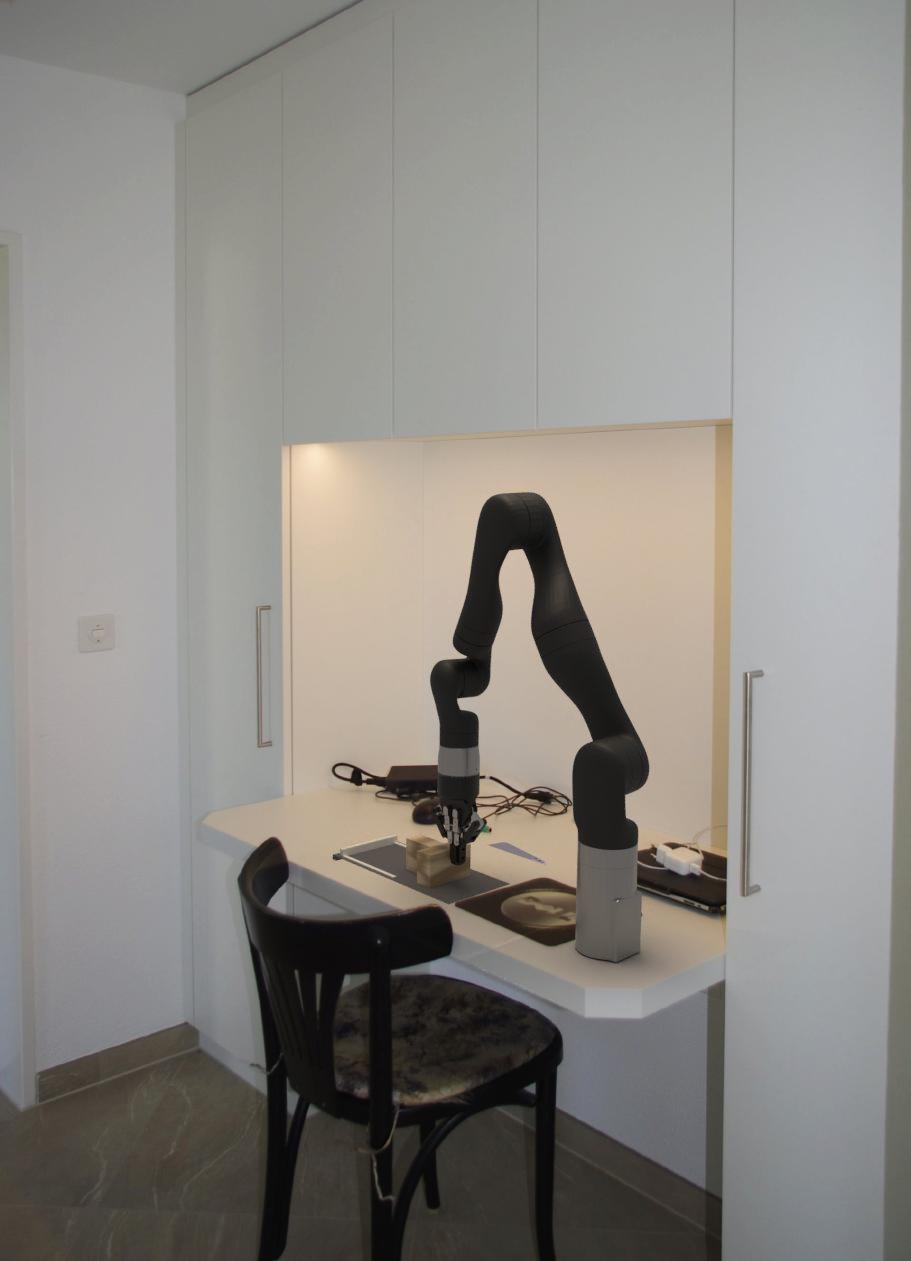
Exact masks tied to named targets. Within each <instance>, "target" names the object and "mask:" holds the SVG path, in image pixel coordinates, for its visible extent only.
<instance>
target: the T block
mask: <svg viewBox="0 0 911 1261" xmlns="http://www.w3.org/2000/svg"><path fill="white" fill-rule="evenodd" d="M405 841H406V842H405V844H406V869H407V870H410V871H412V872H415V873H417V883H418V884H421V885H423V886H425V887H428V888H432V887H435V886H439V885H442V884H445V883H448V882H451V881H455V880H458V879H461V878H464V877H467V876H470V869H471V859H472V858H471V854H472V853H471V851H472V850H471V845H472V843H468V844H467V845H466V861H465V863H464V864H462V865H458V866H457V865H454V864H452V863H451V860H450V843H449V842H448V841H447V842H443V841H439V840H437V839H434V838H431V837H429V836H425V835H423V834H417V835H413V836H409V837H406V838H405Z"/></svg>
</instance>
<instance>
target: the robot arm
mask: <svg viewBox="0 0 911 1261" xmlns="http://www.w3.org/2000/svg"><path fill="white" fill-rule="evenodd" d="M472 550H473V551H472V557H471V564H470V572H469V578H468V584H467V590H466V595H465V598H464V602H463V605H462V609H461V610H460V611H461V612H460V614H459V618H458V621H457V623H456V627H455V630H454V632H453V635H452V646H453V648H454V649H455V651H456V652H458V653H459V654H460V655H463V656H465V657H464V658H450V659H449V658H448V659H442V660H439V661H437V662H436V663H435V664H434V665H433V667H432V669H431V671H430V677H429V684H430V689H431V693H432V697H433V700H434V703H435V704H434V705H435V709H436V713H437V717H438V721H439V722H438V723H439V746H438V754H437V755H438V756H437V795H438V796H439V797H440V799H439V804H438V805H436V806H434V807H431V808H430V813H431V816H432V817H433V820H434V822H435V824H436V827H437V829H438V832H439V833H440V835H441V837H442V838H443V839H445V838H446V839H447V843H448V842H449V843H450V860H451V863H452V864H454V865H457V866H458V865H462V864H464V863H465V861H466V845H467V844H468V843H469V844H472V843H475V842H476V840H477V839H478V837H479V836H480V834H481V833H482V832H483V830H484V828H486V826H487V825H488V821H487V819H486V818H481V816H480V815H479V814H478V809H479V808H478V806H477V798H478V797H479V795H480V784H481V783H480V775H481V774H480V773H481V772H480V771H481V758H480V757H481V755H480V748H479V747H480V744H479V740H480V736H479V732H480V720H479V717H478V715H477V714H476V713H475V712H473V711H471V710H465V709H461V707H460V706H459V701H458V699H465V698H466V699H467V698H475V697H480V696H481V695H482V694H483V693H484V692H485V691H486V690H487V689H488V687H489V685H490V682H491V674H492V673H491V672H492V671H491V667H492V652H493V645H494V643H495V640H496V637H497V634H498V632H499V629H500V626H501V622H502V620H503V619H502V618H503V613H504V612H503V610H504V605H503V598H502V594H501V586H500V574H501V570H502V566H503V564H504V561H505V559H506V558H507V556H508V553H509V552H510V551H517V550H519V551H520V550H522V551H523V553H524V555H525V556H526V560H527V561H528V565H529V568H530V570H531V573H532V577H533V583H534V592H533V599H532V600H533V601H532V608H531V616H530V631H531V635H532V638H533V641H534V644H535V646H536V649H537V651H538V654H539V658H540V660H541V663H542V665H543V666H544V669H545V671H546V672H547V674H548V675H549V676H550V678H551V679H552V680H553V682H554V683H555V684H556V685H557V686H558V687H559V689H560V690H561V691H562V692H563V693H564V695H566V697H568V699H569V700H570V701H571V702H572V703H573V704H574V705H575V706H576V708H577V709H578V711H579V712H580V714H581V716H582V717H583V720H584V722H585V724H586V726H587V728H588V731H589V734H590V737H591V740H592V741H590V742H589V741H588V742H587V743H585V744H583V745H582V746H581V747H580V748H579V749H578V751H577V752H576V754H575V757H574V760H573V762H572V763H573V764H572V772H571V773H572V774H571V777H572V778H571V780H572V781H571V786H572V787H571V788H572V789H571V791H572V792H571V793H572V817H573V822H574V824H575V827H576V830H577V851H576V852H577V854H576V856H577V858H576V889H575V890H576V893H575V894H576V895H575V896H576V897H575V898H576V899H575V932H574V933H575V935H574V938H575V939H574V940H575V944H574V946H575V949H576V950H577V951H578V952H579V953H580V954H582V955H584V956H586V957H589V958H592V959H597V960H605V961H611V962H614V963H618V962H620V961H623V960H624V959H626V958H628V957H631V956H633V955H637V953H640V952H641V935H642V907H643V906H642V905H643V903H642V901H643V893H642V892H641V891H639V890H637V888H638V886H637V883H638V857H639V856H638V854H639V853H638V852H639V827H638V824H637V823H636V822H635V821H634V820H632V819H630V818H628V817H627V812H626V811H627V810H626V795H629V794H631V793H634V792H637V791H639V790H641V788H642V787H644V786H645V784H646V783H647V781H648V779H649V774H650V761H649V756H648V753H647V751H646V749H645V746H644V744H643V742H642V740H641V738H640V736H639V734H638V731H637V730H636V728H635V726H634V725H633V723H632V721H631V719H630V717H629V715H628V713H627V711H626V709H625V706H624V705H623V703H622V700H621V698H620V696H619V694H618V691H617V688H616V686H615V684H614V680H613V679H612V676H611V674H610V672H609V669H608V667H607V664H606V662H605V660H604V656H603V654H602V651H601V649H600V646H599V643H598V640H597V637H596V635H595V633H594V629H593V627H592V624H591V623H590V622H591V621H590V619H589V617H588V615H587V612H586V611H585V608H584V607H583V603H582V601H581V599H580V596H579V593H578V590H577V588H576V585H575V581H574V579H573V577H572V574H571V571H570V567H569V565H568V561H567V559H566V556H565V552H564V547H563V544H562V541H561V536H560V534H559V530H558V526H557V523H556V520H555V516H554V513H553V511H552V509H551V506H550V505H549V503H548V502H547V500H546V499H545V497H543V496H541V494H539V493H537V492H532V491H530V492H529V491H528V492H527V491H525V492H523V491H522V492H509V493H507V492H506V493H505V492H503V493H498V494H495V495H492V496H490V497H489V498H488V499H487V500H486V501H485V502H484V503H483V506H482V507H481V509H480V513H479V516H478V521H477V527H476V531H475V537H474V546H473V549H472Z"/></svg>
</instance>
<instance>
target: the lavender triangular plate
mask: <svg viewBox="0 0 911 1261" xmlns="http://www.w3.org/2000/svg"><path fill="white" fill-rule="evenodd" d="M488 846H490V847H492V848H495V849H498V850H500V851H504V852H507V853H510V854H512V855H516V856H518V857H521V858H524V859H527V860H530V861H533V862H536V863H538V864H541V865H545V866H547V862H545V861H544V860H542V859H541V858H539V857H537V856H535V855H532V854H531V853H529V852H527V851H525V850H523V849H521V848H519V847H517V846H515V845H513V844H511V843H509V842H503V841H502V842H497V843H492V844H488Z"/></svg>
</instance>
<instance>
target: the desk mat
mask: <svg viewBox="0 0 911 1261" xmlns="http://www.w3.org/2000/svg"><path fill="white" fill-rule="evenodd" d="M332 860H335V861H340V860H343V861H346V862H349V863H351V864H353V865H355V866H358V867H360V868H363V869H364V870H368V871H370V872H372V873H375V874H377V875H378V876H381V877H383V878H386V879H389V880H390V881H393V882H395V883H398V884H400V885H402V886H405V887H407V888H410V889H412V890H414V891H416V892H419V893H421V894H424V895H425V896H428V897H430V898H432V899H435V900H438V901H440V902H443V903H445V904H447V905H451V904H455V903H457V902H460V901H463V900H467V899H468V898H471V897H472V898H473V897H474V896H475V897H476V896H478V895H481V894H484V893H487V892H490V891H493V890H496V889H499V888H501V887H505V886H508V885H510V883H509V882H506V881H503V880H501V879H498V878H496V877H493V876H490V875H489V874H485V873H483V872H481V871H477V870H474V869H473V868H472V869H471V868H470V876H467V877H464V878H461V879H458V880H455V881H451V882H448V883H445V884H442V885H439V886H435V887H432V888H428V887H425V886H423V885H421V884H418V883H417V873H415V872H412V871H410V870H407V869H406V843H404V842H403V843H402V842H400V841H398V835H396V834H391V835H387V836H383V837H379V838H376V839H370V840H368V841H363V842H360V843H356V844H351V845H349V846H347V845H346V846H344V847H341V848H339V852H337V853H334V854H332Z"/></svg>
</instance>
